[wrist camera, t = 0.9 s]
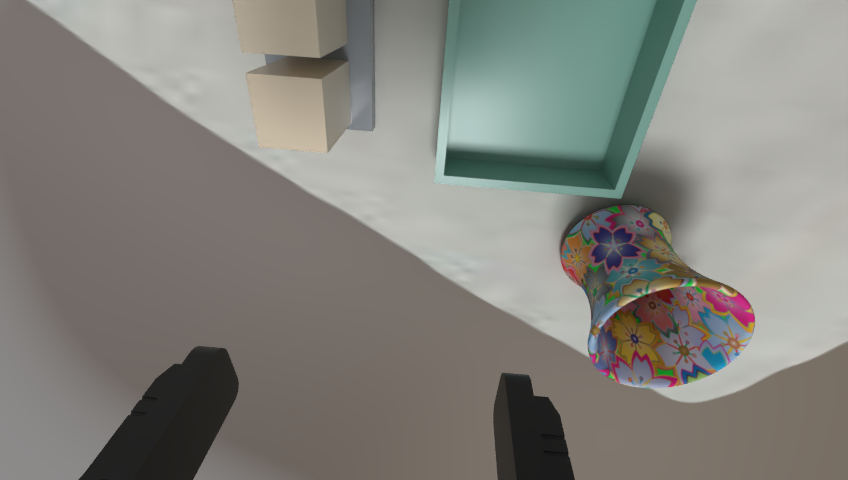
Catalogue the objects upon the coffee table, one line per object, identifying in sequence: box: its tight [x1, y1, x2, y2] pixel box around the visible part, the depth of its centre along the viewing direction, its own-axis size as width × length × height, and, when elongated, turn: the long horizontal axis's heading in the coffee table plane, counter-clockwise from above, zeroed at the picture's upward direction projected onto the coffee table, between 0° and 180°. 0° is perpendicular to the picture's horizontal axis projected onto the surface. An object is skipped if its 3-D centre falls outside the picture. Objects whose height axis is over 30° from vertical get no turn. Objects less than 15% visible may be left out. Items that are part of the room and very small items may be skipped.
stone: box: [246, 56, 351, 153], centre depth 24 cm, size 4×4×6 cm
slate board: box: [265, 0, 375, 131], centre depth 25 cm, size 10×7×1 cm
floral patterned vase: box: [561, 205, 755, 388], centre depth 28 cm, size 12×9×11 cm
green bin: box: [434, 0, 697, 199], centre depth 24 cm, size 13×13×4 cm
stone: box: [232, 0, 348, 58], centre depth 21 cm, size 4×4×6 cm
